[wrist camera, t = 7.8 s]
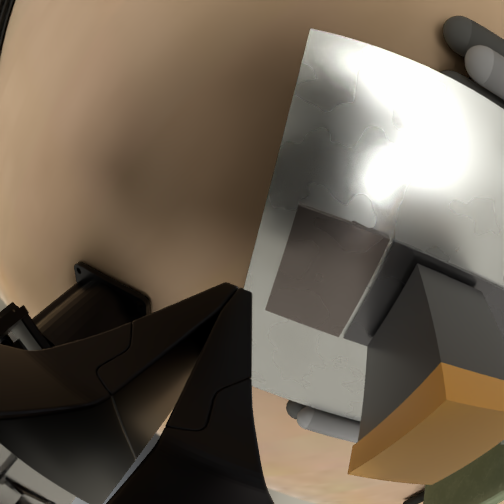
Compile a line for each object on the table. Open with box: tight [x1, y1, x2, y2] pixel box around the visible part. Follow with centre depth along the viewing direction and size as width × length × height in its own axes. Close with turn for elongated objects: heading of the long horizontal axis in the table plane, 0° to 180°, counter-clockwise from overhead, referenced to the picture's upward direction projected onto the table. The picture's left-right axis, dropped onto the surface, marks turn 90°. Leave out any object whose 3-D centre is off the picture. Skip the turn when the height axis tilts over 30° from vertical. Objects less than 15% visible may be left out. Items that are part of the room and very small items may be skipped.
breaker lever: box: [348, 263, 504, 485], centre depth 7 cm, size 3×4×6 cm
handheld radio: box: [403, 444, 504, 504], centre depth 14 cm, size 7×3×25 cm
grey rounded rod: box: [286, 400, 361, 443], centre depth 14 cm, size 14×4×3 cm, turn 77°
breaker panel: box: [244, 28, 504, 444], centre depth 10 cm, size 24×16×2 cm, turn 77°
